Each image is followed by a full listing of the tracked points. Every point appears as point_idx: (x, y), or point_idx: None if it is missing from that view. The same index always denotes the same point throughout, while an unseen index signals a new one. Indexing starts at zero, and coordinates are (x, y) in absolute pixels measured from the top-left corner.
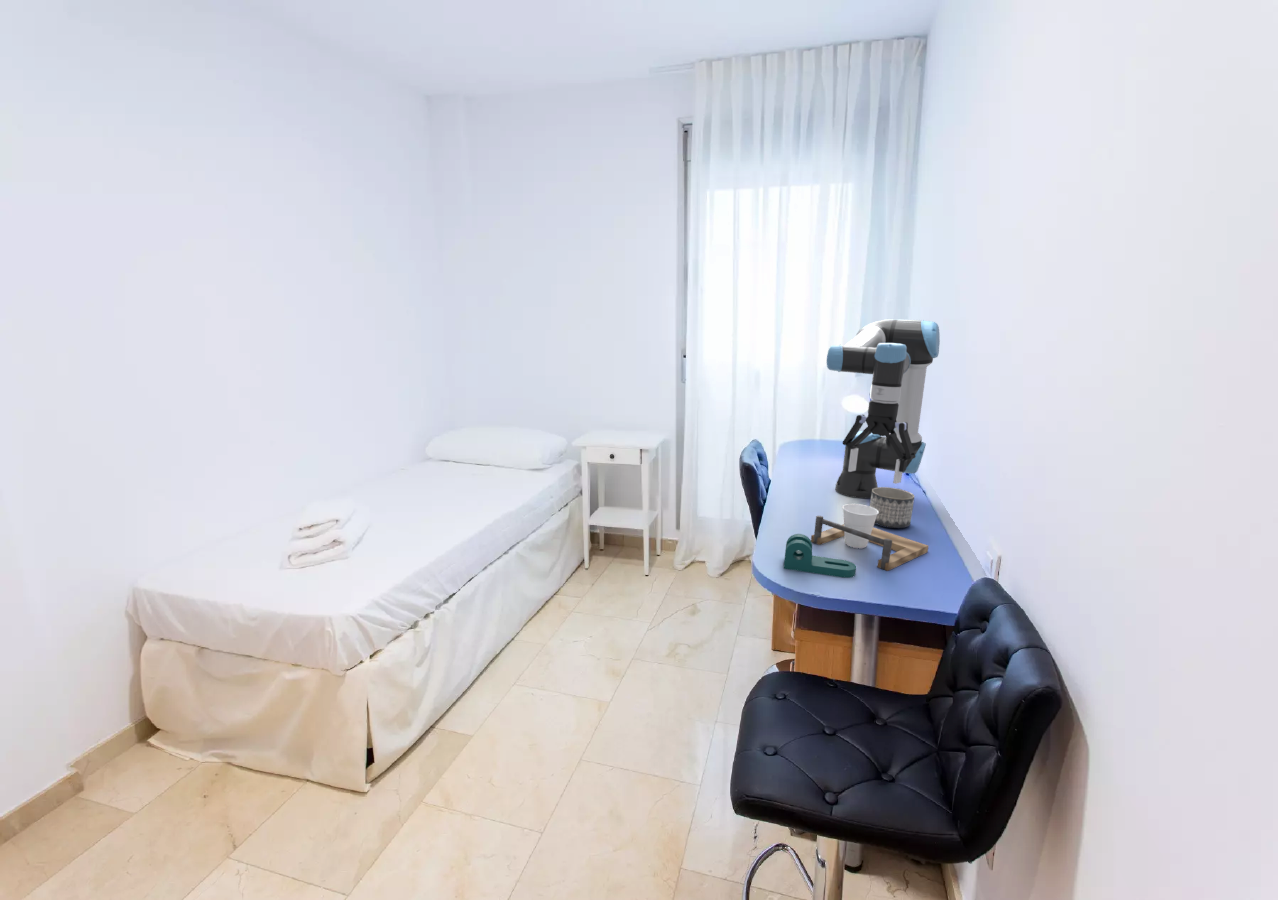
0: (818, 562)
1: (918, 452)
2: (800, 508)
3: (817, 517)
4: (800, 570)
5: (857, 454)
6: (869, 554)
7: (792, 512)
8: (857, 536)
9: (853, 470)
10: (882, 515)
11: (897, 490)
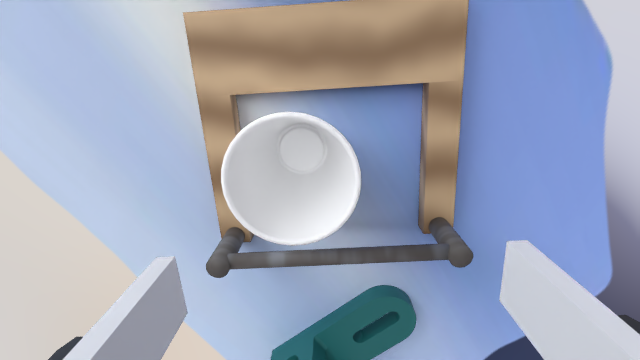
0: (348, 351)
1: None
2: None
3: (218, 277)
4: None
5: (94, 356)
6: (362, 173)
7: (7, 86)
8: (321, 189)
9: (178, 284)
10: None
11: None
